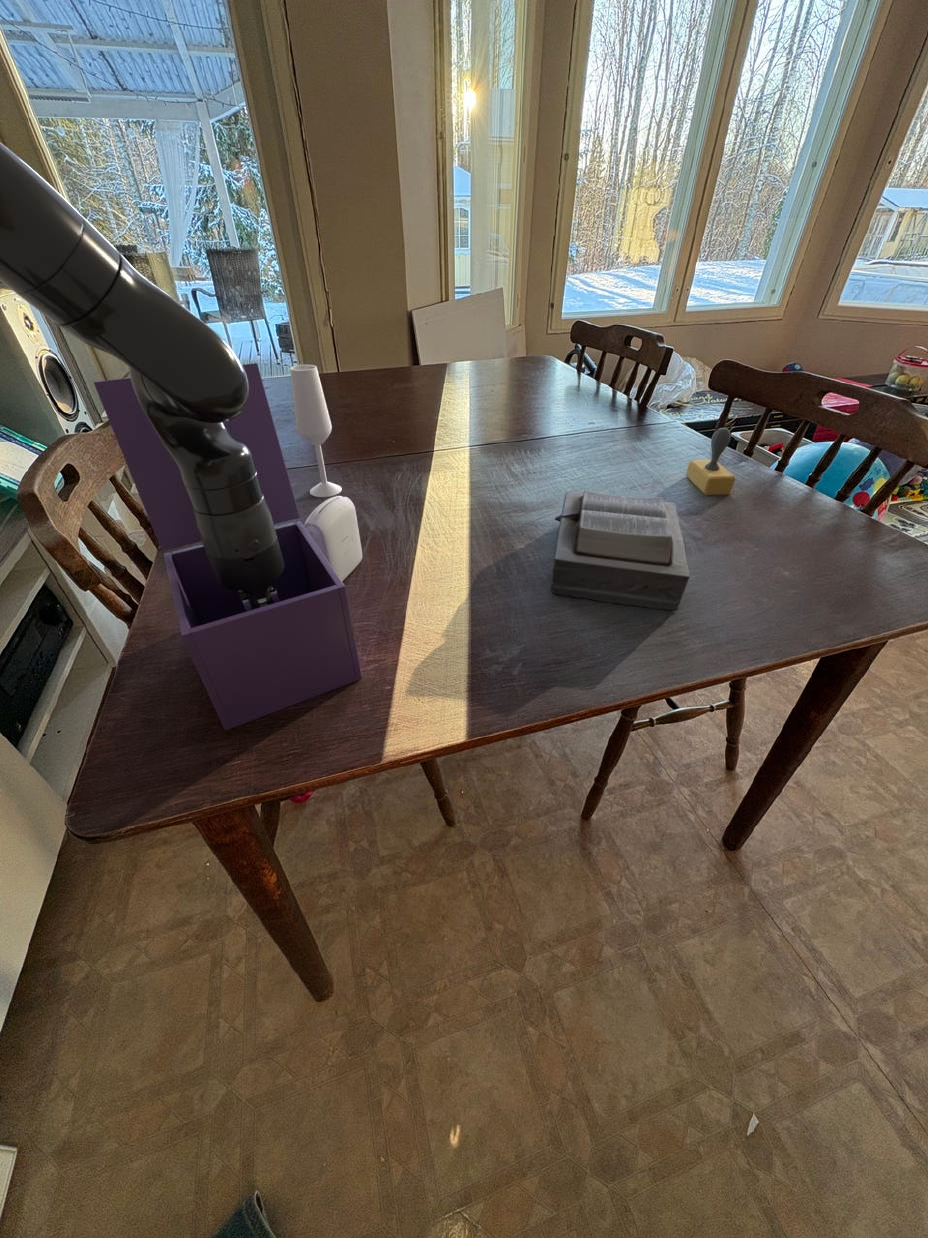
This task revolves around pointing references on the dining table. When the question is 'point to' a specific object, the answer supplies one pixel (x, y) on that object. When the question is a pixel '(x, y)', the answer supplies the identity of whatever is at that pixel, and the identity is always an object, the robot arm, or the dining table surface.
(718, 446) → the rubber stamp
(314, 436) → the champagne flute
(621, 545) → the bible
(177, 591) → the box
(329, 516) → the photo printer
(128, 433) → the lid
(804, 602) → the dining table surface
